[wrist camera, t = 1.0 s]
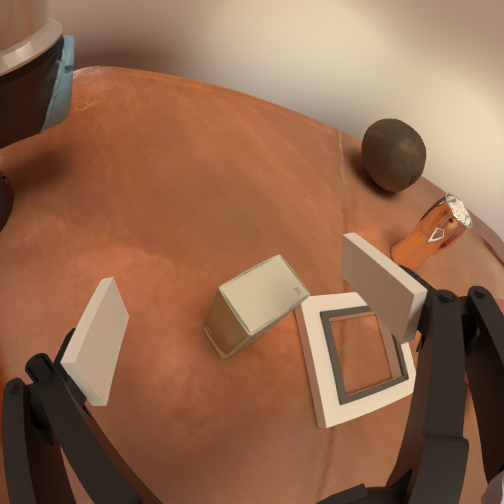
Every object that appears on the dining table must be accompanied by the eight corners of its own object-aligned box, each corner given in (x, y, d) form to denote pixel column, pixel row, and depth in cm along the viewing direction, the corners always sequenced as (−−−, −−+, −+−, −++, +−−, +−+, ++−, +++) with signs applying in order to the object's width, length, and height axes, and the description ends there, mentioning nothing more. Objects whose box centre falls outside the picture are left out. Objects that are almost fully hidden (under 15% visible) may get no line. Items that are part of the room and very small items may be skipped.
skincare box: (245, 303, 33) (282, 250, 23) (266, 333, 32) (315, 292, 22) (199, 329, 30) (216, 285, 20) (221, 362, 28) (250, 336, 18)
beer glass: (383, 253, 44) (441, 199, 32) (397, 236, 48) (448, 186, 35) (408, 283, 42) (470, 236, 30) (420, 263, 46) (475, 218, 34)
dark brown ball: (395, 175, 60) (430, 132, 48) (402, 214, 52) (446, 167, 40) (347, 148, 59) (378, 98, 47) (346, 184, 51) (387, 126, 39)
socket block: (292, 303, 35) (301, 295, 32) (383, 293, 39) (393, 286, 37) (318, 427, 27) (328, 427, 25) (409, 391, 32) (421, 388, 30)
